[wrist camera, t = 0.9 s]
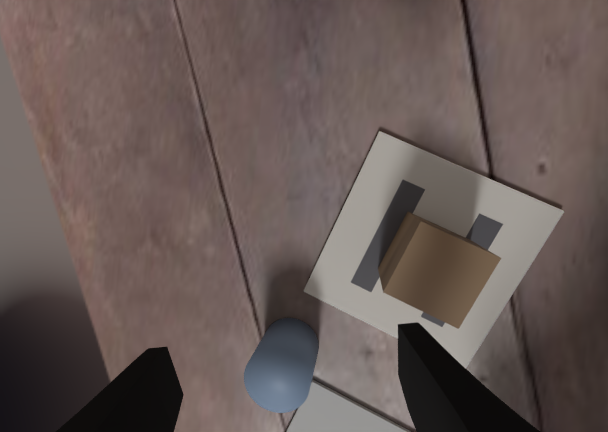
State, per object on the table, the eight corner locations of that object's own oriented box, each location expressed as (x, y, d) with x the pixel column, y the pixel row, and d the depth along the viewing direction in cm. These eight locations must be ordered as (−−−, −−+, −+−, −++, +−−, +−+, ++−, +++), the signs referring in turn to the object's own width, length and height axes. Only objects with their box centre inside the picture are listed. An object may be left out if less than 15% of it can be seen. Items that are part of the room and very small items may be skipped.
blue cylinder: (327, 334, 26) (320, 370, 21) (304, 379, 27) (293, 424, 22) (277, 308, 27) (259, 338, 22) (256, 353, 28) (234, 392, 23)
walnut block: (470, 240, 23) (501, 258, 18) (437, 297, 24) (458, 329, 19) (407, 211, 23) (420, 221, 19) (377, 268, 24) (383, 292, 20)
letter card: (561, 210, 22) (564, 211, 22) (462, 369, 25) (464, 371, 24) (379, 131, 23) (379, 131, 23) (303, 290, 26) (303, 291, 26)
